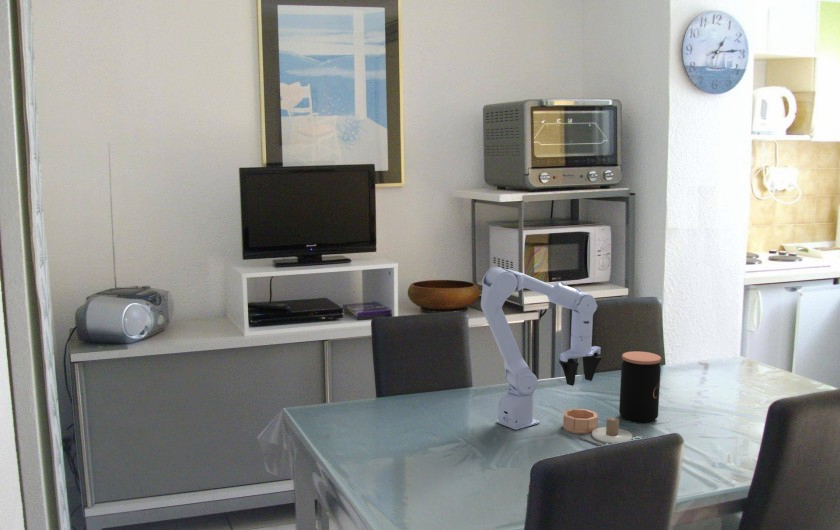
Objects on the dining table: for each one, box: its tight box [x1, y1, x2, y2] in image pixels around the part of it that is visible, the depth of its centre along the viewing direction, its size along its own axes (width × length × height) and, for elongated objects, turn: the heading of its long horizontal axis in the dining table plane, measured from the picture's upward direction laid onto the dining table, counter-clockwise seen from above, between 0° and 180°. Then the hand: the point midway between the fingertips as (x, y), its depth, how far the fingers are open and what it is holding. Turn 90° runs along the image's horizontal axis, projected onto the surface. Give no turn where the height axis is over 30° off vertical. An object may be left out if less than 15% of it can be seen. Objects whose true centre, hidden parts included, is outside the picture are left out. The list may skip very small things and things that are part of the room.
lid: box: [592, 416, 632, 444], centre depth 224 cm, size 10×10×5 cm
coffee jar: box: [618, 350, 662, 424], centre depth 239 cm, size 11×11×18 cm
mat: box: [578, 427, 645, 447], centre depth 224 cm, size 14×11×1 cm
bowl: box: [562, 408, 599, 435], centre depth 231 cm, size 9×9×4 cm
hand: (579, 382), depth 238 cm, fingers open, 7 cm apart
